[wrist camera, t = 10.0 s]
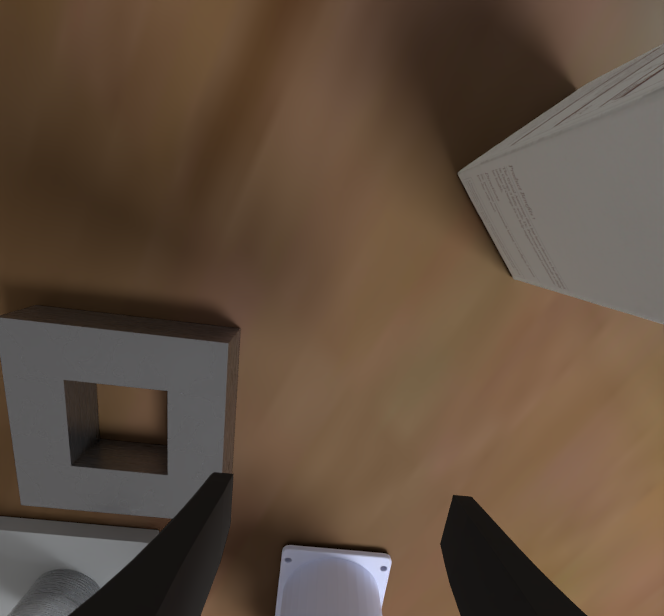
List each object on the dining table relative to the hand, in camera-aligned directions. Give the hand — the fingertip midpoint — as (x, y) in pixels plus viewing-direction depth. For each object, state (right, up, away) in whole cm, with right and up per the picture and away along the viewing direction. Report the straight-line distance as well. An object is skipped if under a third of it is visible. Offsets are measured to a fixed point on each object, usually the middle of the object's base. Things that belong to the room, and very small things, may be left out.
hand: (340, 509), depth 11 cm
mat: (-19, -15, +14) cm, 28 cm away
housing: (-12, 0, +11) cm, 16 cm away
